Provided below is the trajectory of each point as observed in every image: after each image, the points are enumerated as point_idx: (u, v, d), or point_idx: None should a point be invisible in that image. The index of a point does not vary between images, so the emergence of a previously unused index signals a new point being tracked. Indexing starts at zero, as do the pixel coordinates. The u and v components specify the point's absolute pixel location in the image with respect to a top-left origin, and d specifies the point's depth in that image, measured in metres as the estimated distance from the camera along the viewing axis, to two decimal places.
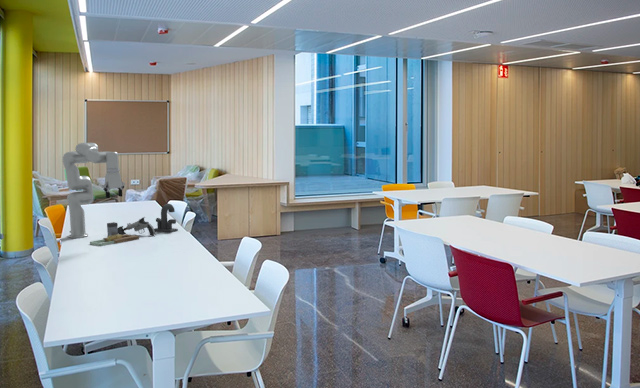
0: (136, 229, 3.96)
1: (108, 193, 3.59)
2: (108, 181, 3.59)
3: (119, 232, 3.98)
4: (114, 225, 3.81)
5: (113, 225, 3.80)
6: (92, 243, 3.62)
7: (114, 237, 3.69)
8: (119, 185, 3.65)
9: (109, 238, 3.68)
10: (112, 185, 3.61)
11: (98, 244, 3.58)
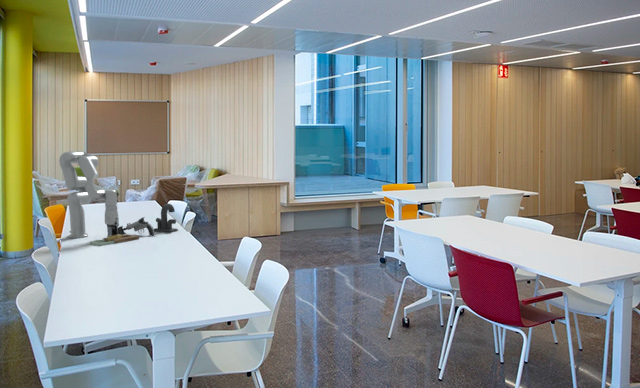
0: (136, 229, 3.96)
1: (116, 230, 3.82)
2: (117, 217, 3.80)
3: (119, 232, 3.98)
4: (114, 225, 3.81)
5: None
6: (92, 243, 3.62)
7: (114, 237, 3.69)
8: None
9: (109, 238, 3.68)
10: None
11: (98, 244, 3.58)
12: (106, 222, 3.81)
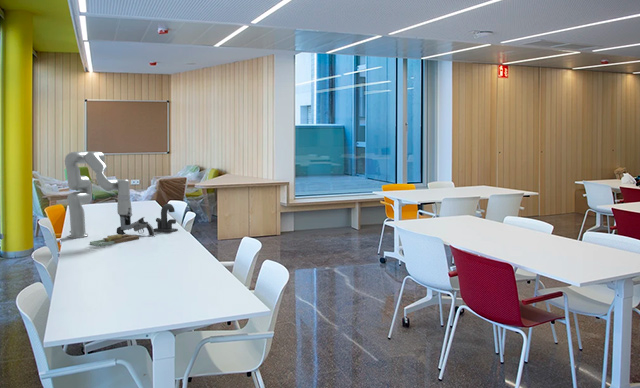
0: (135, 229, 3.96)
1: (129, 220, 3.77)
2: (130, 207, 3.75)
3: (119, 232, 3.98)
4: None
5: None
6: (92, 243, 3.62)
7: (114, 237, 3.69)
8: None
9: (109, 238, 3.68)
10: None
11: (98, 244, 3.58)
12: (119, 212, 3.76)
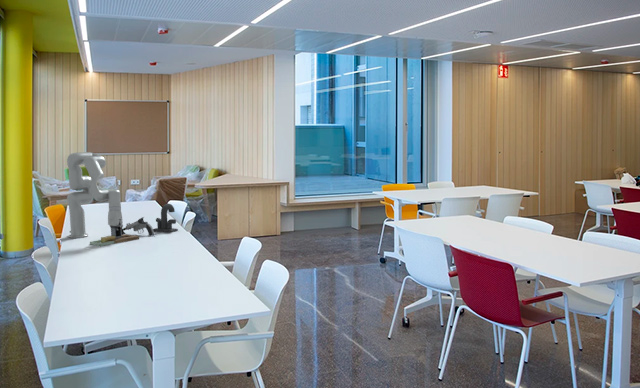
0: (135, 229, 3.95)
1: (120, 231, 3.72)
2: (121, 218, 3.70)
3: None
4: None
5: None
6: (92, 243, 3.62)
7: (107, 238, 3.65)
8: None
9: (102, 239, 3.64)
10: None
11: (98, 244, 3.58)
12: (109, 223, 3.71)
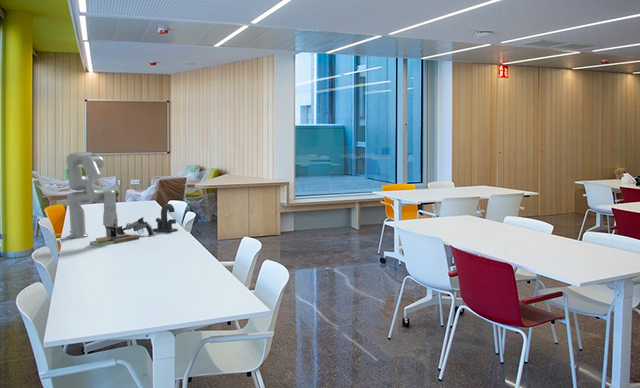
0: (135, 229, 3.96)
1: (115, 232, 3.69)
2: (116, 219, 3.67)
3: (118, 232, 3.98)
4: None
5: None
6: (92, 243, 3.62)
7: (103, 239, 3.62)
8: None
9: (98, 240, 3.61)
10: None
11: (98, 244, 3.58)
12: (105, 224, 3.68)
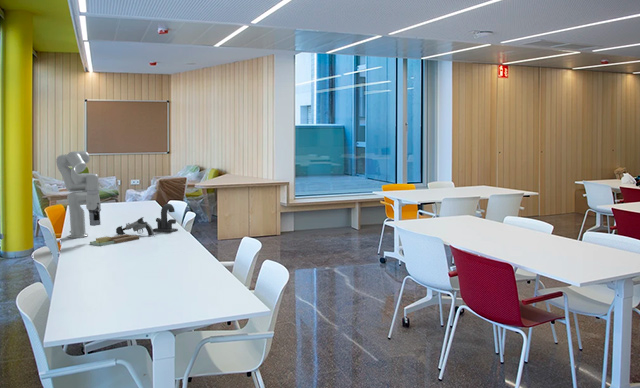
0: (135, 229, 3.95)
1: (98, 215, 3.70)
2: (99, 202, 3.68)
3: (118, 232, 3.98)
4: None
5: None
6: (92, 243, 3.62)
7: (103, 239, 3.62)
8: None
9: (97, 240, 3.61)
10: None
11: (98, 244, 3.58)
12: (88, 207, 3.69)
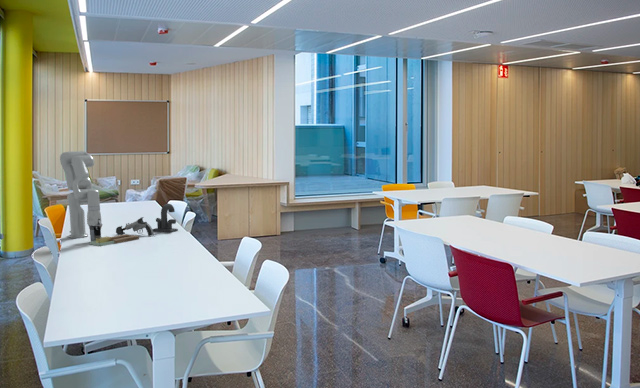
0: (135, 229, 3.95)
1: (100, 231, 3.71)
2: (100, 218, 3.69)
3: (118, 232, 3.98)
4: None
5: None
6: (92, 243, 3.62)
7: (103, 239, 3.62)
8: None
9: (97, 240, 3.61)
10: None
11: (98, 244, 3.58)
12: (88, 223, 3.70)
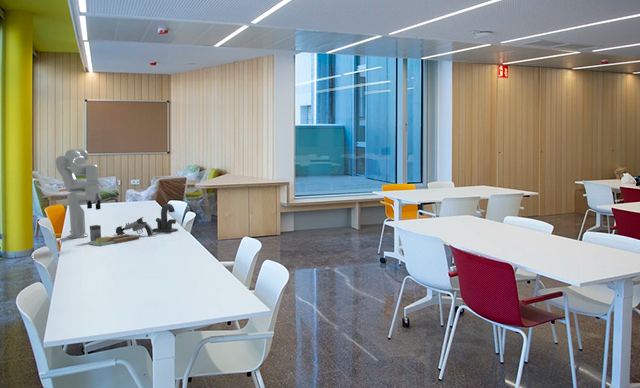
0: (134, 229, 3.95)
1: (99, 204, 3.68)
2: (99, 193, 3.67)
3: (118, 232, 3.99)
4: (97, 227, 3.71)
5: (96, 228, 3.70)
6: (92, 243, 3.62)
7: (103, 239, 3.62)
8: None
9: (97, 240, 3.61)
10: None
11: (98, 244, 3.58)
12: (87, 198, 3.69)
